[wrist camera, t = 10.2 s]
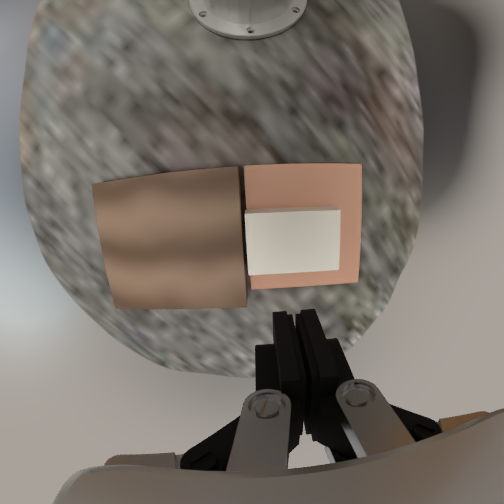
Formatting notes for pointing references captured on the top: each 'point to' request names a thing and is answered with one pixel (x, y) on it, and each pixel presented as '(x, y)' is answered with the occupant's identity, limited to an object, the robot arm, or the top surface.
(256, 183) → the mat
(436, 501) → the robot arm
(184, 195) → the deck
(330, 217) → the tile
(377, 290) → the top surface
